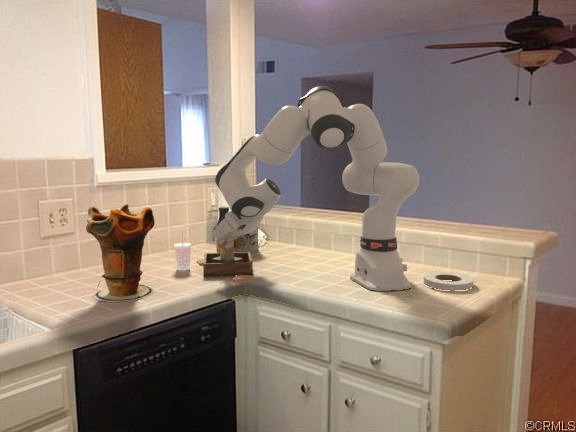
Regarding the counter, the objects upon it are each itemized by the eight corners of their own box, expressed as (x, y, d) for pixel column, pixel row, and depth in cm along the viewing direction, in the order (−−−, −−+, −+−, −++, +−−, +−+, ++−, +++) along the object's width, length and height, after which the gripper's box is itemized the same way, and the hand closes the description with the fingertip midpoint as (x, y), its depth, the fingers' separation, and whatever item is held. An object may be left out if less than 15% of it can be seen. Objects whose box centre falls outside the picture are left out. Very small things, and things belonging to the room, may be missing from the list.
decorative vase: (129, 277, 175) (128, 195, 170) (173, 293, 160) (172, 204, 155) (70, 292, 159) (67, 202, 154) (113, 311, 145) (110, 213, 139)
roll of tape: (482, 286, 166) (482, 277, 166) (456, 296, 156) (456, 286, 156) (440, 277, 178) (440, 268, 177) (413, 285, 168) (413, 276, 167)
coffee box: (258, 250, 219) (258, 212, 217) (249, 253, 214) (249, 214, 211) (241, 247, 224) (241, 210, 222) (232, 250, 219) (231, 212, 216)
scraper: (242, 261, 186) (242, 234, 185) (231, 265, 181) (231, 237, 179) (223, 258, 191) (222, 231, 190) (211, 262, 186) (211, 234, 184)
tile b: (250, 284, 170) (250, 280, 170) (232, 283, 171) (232, 279, 171) (254, 279, 176) (254, 275, 176) (237, 278, 177) (237, 274, 177)
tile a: (215, 265, 196) (215, 261, 195) (199, 266, 193) (199, 263, 193) (212, 261, 201) (212, 258, 201) (197, 263, 199) (196, 259, 199)
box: (252, 275, 179) (252, 262, 179) (203, 276, 177) (203, 264, 176) (249, 263, 196) (249, 251, 195) (204, 265, 194) (204, 253, 193)
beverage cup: (194, 266, 191) (192, 229, 189) (189, 271, 185) (188, 232, 183) (177, 266, 192) (176, 229, 190) (172, 270, 186) (171, 232, 184)
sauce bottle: (215, 254, 211) (214, 206, 208) (230, 253, 213) (229, 205, 210) (218, 258, 205) (217, 208, 202) (233, 257, 207) (232, 207, 204)
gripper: (259, 206, 188) (238, 230, 195) (223, 213, 171) (201, 239, 178) (269, 219, 186) (248, 243, 193) (234, 227, 169) (212, 253, 176)
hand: (225, 241), depth 185 cm, fingers closed on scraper, 4 cm apart
